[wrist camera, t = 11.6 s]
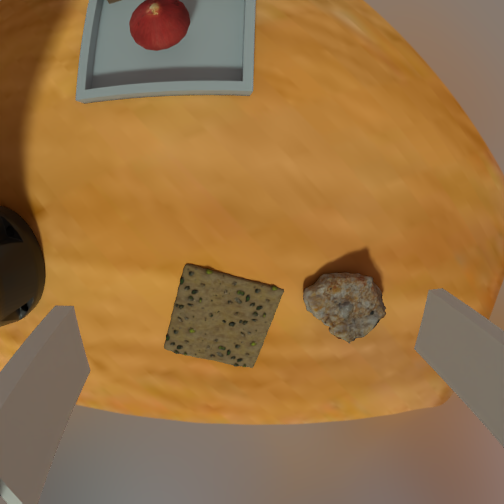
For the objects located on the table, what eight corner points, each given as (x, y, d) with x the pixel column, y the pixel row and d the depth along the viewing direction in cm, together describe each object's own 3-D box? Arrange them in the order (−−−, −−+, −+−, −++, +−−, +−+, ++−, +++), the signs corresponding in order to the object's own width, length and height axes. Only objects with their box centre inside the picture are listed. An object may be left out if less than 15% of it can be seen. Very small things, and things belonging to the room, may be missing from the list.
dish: (84, 103, 29) (75, 100, 26) (103, -28, 23) (98, -37, 21) (249, 95, 31) (252, 91, 28) (254, -37, 26) (257, -47, 23)
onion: (136, 19, 26) (118, -12, 18) (188, 9, 26) (184, -27, 19) (140, 64, 28) (121, 40, 20) (194, 53, 28) (190, 25, 21)
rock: (387, 291, 40) (350, 248, 35) (403, 323, 35) (368, 282, 31) (335, 327, 43) (291, 292, 38) (346, 360, 38) (300, 328, 34)
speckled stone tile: (253, 367, 41) (254, 371, 40) (163, 347, 38) (162, 351, 37) (285, 287, 38) (287, 290, 37) (184, 260, 36) (184, 263, 35)
